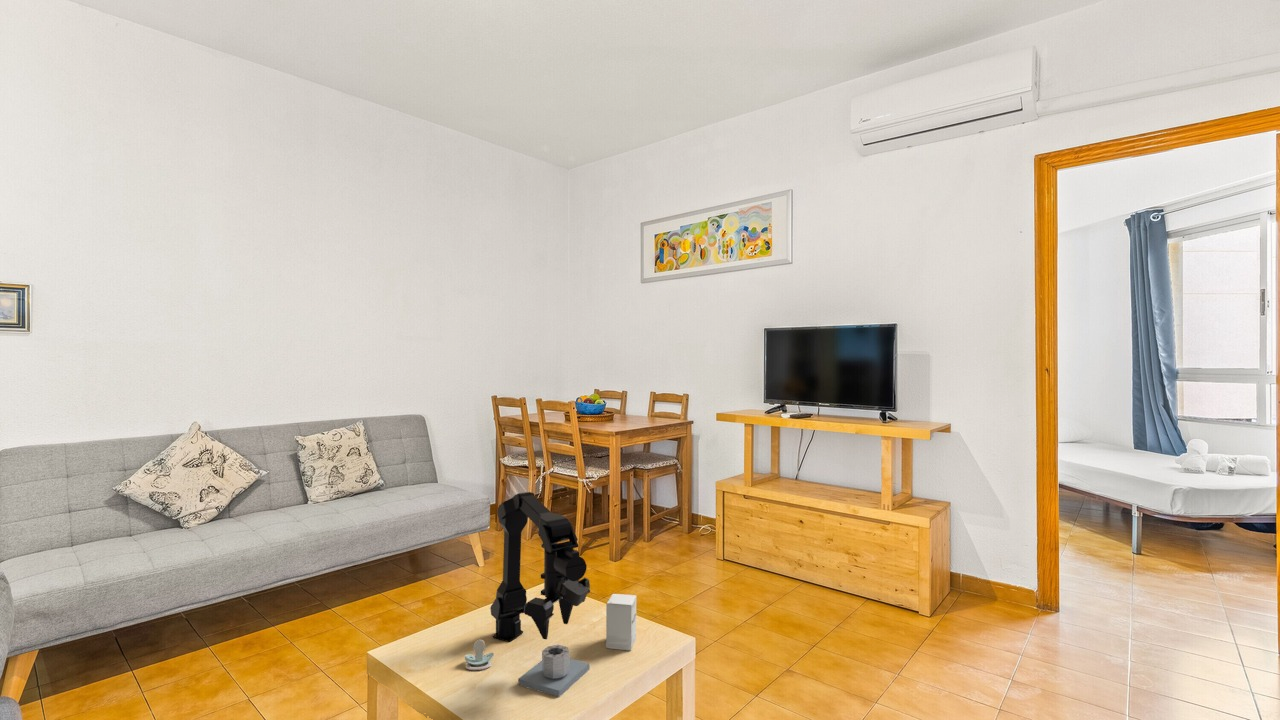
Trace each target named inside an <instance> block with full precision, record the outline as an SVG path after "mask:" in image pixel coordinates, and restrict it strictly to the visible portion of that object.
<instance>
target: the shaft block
mask: <svg viewBox="0 0 1280 720" xmlns="http://www.w3.org/2000/svg"><path fill="white" fill-rule="evenodd" d="M589 670H590V662H585V661H582V660H576V659H573V658H570V657H569V673H567V674H566V675H565V676H564V677H560V678H554V679H552V678H549V677H545V676H544V675H543V672H542V660H540V661H539V662H538V663H536V664H535V665H534V666H533V667H531V668H530V669H529V670H528V671H526V672H525V673H524V674H522V675H521V676H520V677H519V678H517V681H518V682H517V685H518V686H521V687H525V688H527V689H531V690H534V691H538V692H541V693H545V694H547V695H551V696H555V697H559V698H560V697H561V696H562V695H563V694H564V693H566V691H567V690H569V689H570V687H571V688H572V686H573V685H574V684H575V683H576V682H577V681H579V679H580V678H582V677H583V676H584V675H585V674H586V673H587V672H588V671H589Z"/></svg>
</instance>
